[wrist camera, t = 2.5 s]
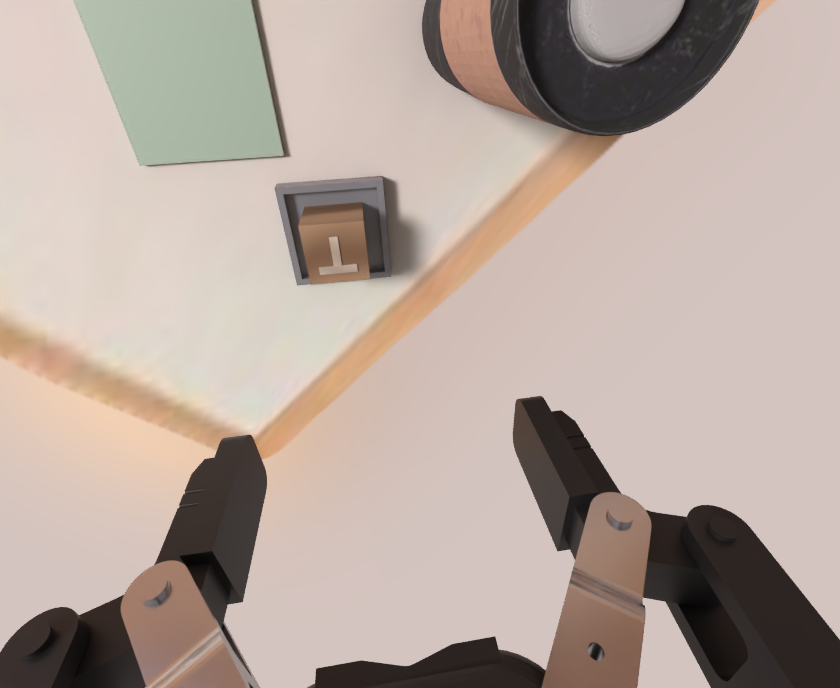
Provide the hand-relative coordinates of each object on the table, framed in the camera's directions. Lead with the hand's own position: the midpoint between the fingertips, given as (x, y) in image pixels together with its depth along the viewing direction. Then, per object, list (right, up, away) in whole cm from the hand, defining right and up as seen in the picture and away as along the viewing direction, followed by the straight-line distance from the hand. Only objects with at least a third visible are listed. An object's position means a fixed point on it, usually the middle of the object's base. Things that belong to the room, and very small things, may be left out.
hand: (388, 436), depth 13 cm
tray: (-6, +12, +22) cm, 25 cm away
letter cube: (-6, +12, +21) cm, 25 cm away
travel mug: (+5, +24, +15) cm, 29 cm away
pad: (-14, +20, +15) cm, 29 cm away
